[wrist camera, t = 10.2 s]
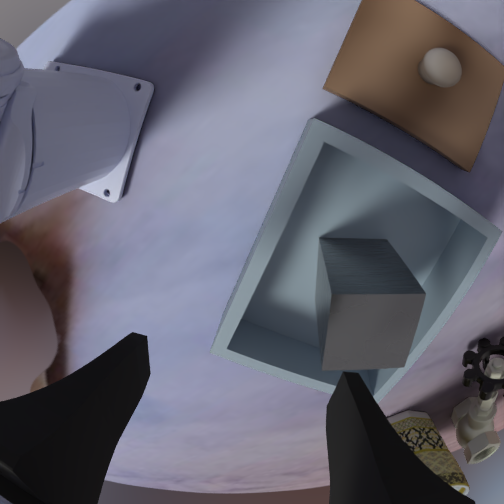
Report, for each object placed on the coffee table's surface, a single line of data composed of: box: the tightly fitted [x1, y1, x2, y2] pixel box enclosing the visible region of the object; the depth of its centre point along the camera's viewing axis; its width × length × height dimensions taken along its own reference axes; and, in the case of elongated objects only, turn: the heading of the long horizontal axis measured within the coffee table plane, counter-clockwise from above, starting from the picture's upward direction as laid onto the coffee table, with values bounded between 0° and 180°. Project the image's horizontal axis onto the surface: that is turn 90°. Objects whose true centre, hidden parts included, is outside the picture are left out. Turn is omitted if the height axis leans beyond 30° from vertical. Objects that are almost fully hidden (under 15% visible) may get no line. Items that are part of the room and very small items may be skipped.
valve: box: [451, 337, 504, 464], centre depth 20 cm, size 7×7×12 cm
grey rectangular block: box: [315, 237, 426, 371], centre depth 16 cm, size 4×4×6 cm
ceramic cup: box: [387, 410, 470, 496], centre depth 21 cm, size 13×10×10 cm
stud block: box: [323, 0, 504, 172], centre depth 12 cm, size 10×8×4 cm
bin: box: [210, 118, 502, 404], centre depth 17 cm, size 12×14×4 cm
